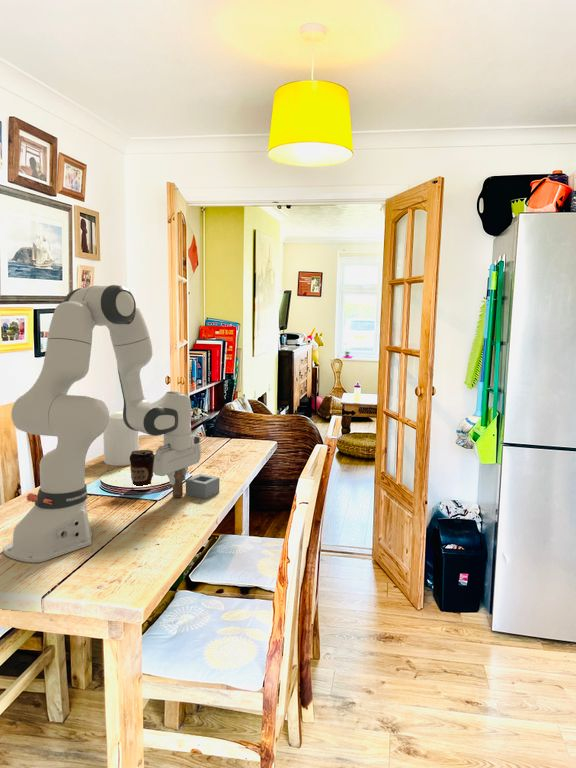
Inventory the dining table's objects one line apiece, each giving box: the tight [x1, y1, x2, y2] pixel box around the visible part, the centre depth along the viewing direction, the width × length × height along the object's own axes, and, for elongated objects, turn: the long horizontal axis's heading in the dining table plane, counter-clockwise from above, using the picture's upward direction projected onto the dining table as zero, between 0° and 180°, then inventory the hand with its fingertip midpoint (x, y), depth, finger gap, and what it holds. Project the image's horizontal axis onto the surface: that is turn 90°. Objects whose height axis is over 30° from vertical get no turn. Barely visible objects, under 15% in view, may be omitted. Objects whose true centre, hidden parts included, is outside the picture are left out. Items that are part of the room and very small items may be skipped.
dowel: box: [172, 469, 184, 499], centre depth 190 cm, size 3×3×12 cm
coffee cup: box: [130, 449, 155, 486], centre depth 197 cm, size 9×8×13 cm
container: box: [102, 410, 140, 467], centre depth 229 cm, size 14×13×20 cm
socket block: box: [185, 473, 220, 499], centre depth 195 cm, size 8×8×5 cm
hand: (177, 482), depth 190 cm, fingers closed on dowel, 3 cm apart
